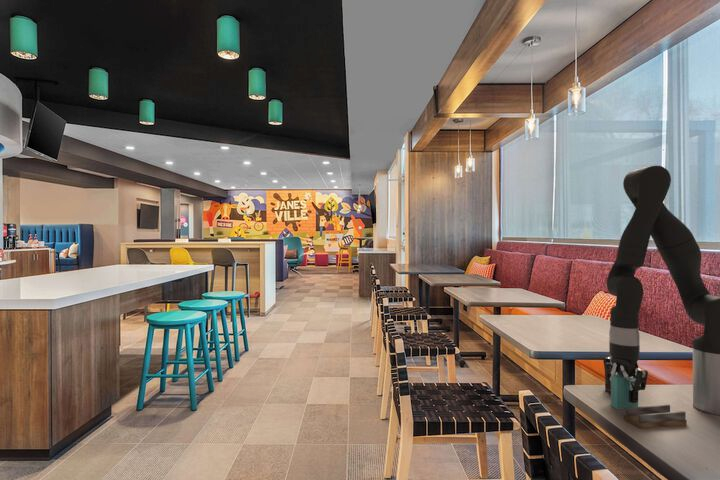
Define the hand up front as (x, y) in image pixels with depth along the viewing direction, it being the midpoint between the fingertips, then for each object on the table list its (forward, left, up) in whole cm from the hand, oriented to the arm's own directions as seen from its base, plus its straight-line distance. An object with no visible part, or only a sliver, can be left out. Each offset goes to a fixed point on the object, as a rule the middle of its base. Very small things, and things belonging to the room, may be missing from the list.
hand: (624, 398), depth 117 cm
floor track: (0, +10, -2) cm, 10 cm away
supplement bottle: (-7, -11, -3) cm, 13 cm away
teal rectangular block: (0, 0, -3) cm, 3 cm away
